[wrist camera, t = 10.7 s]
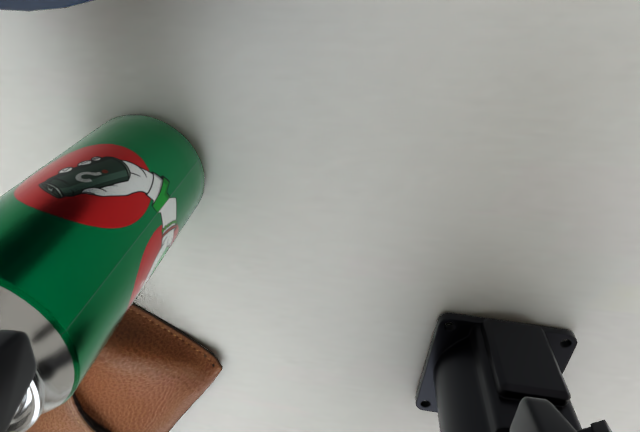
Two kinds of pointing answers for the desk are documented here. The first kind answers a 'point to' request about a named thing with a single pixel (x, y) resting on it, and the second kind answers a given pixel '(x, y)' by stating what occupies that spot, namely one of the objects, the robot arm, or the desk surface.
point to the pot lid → (38, 4)
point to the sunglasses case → (137, 381)
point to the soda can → (89, 246)
